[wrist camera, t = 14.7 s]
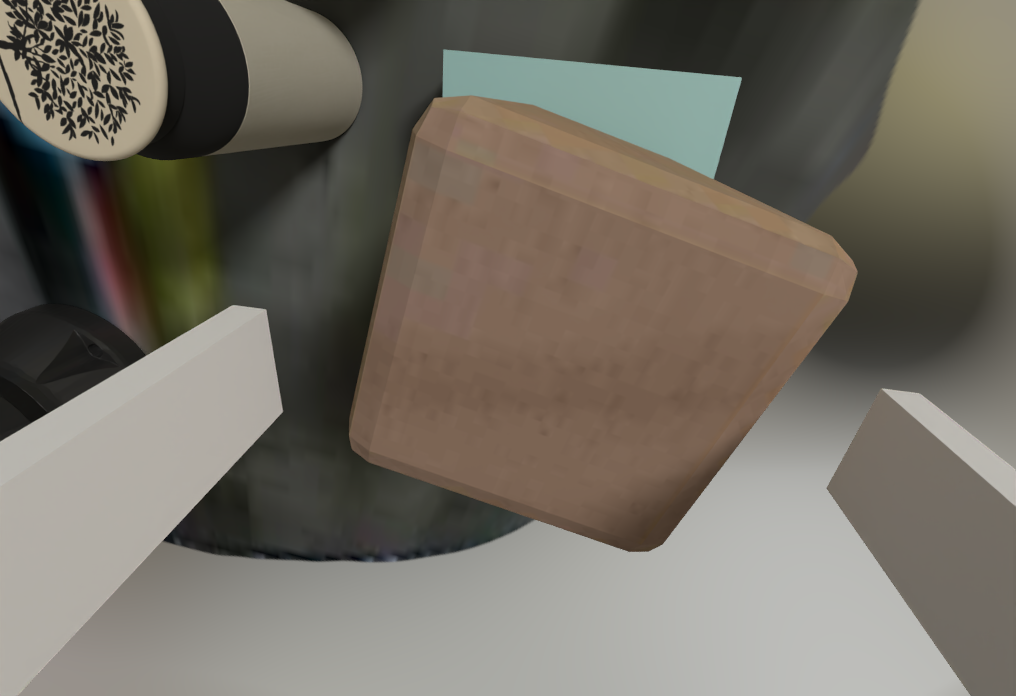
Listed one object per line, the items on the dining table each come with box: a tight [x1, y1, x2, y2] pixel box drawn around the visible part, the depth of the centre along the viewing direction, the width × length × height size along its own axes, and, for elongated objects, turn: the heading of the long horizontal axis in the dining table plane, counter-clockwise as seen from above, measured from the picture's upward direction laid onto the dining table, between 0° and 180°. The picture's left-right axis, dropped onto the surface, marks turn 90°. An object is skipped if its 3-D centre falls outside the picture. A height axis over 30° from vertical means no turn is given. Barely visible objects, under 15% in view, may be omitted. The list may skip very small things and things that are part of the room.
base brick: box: [443, 50, 742, 179], centre depth 31 cm, size 16×16×6 cm
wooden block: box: [349, 95, 857, 552], centre depth 20 cm, size 10×10×20 cm
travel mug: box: [0, 0, 362, 161], centre depth 24 cm, size 8×8×18 cm
